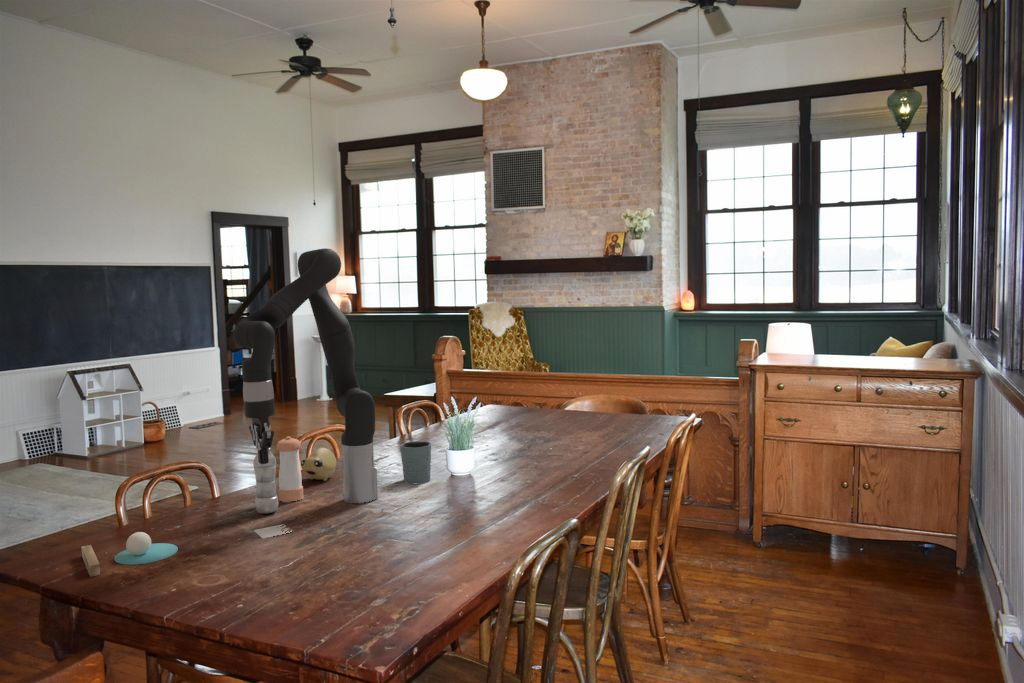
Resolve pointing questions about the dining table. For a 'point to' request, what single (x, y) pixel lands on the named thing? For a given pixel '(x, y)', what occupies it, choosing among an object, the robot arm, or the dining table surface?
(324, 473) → the yellow plush toy
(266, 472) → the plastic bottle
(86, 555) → the bar
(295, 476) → the pepper shaker
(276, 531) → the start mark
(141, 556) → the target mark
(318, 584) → the dining table surface
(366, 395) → the robot arm
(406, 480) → the dark grey pot
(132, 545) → the ball
